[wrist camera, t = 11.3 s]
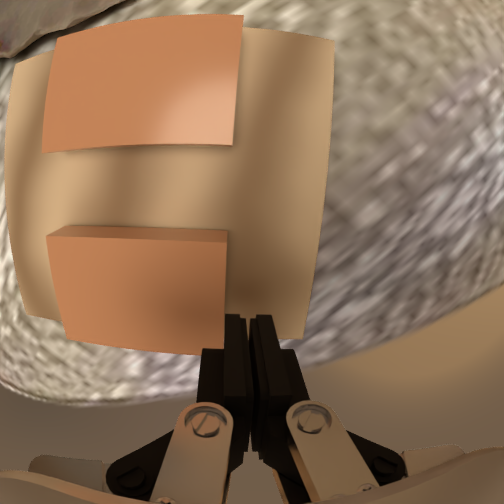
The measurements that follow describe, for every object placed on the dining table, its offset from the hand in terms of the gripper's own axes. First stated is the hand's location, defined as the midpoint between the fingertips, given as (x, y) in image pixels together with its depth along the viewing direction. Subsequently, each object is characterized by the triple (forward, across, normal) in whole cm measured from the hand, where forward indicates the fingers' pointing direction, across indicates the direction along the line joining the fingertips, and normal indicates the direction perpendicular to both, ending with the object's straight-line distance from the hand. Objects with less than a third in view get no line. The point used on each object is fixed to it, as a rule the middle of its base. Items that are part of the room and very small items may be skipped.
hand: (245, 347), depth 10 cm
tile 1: (+4, +1, -10) cm, 11 cm away
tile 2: (+4, +1, 0) cm, 4 cm away
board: (+6, +6, -5) cm, 10 cm away
